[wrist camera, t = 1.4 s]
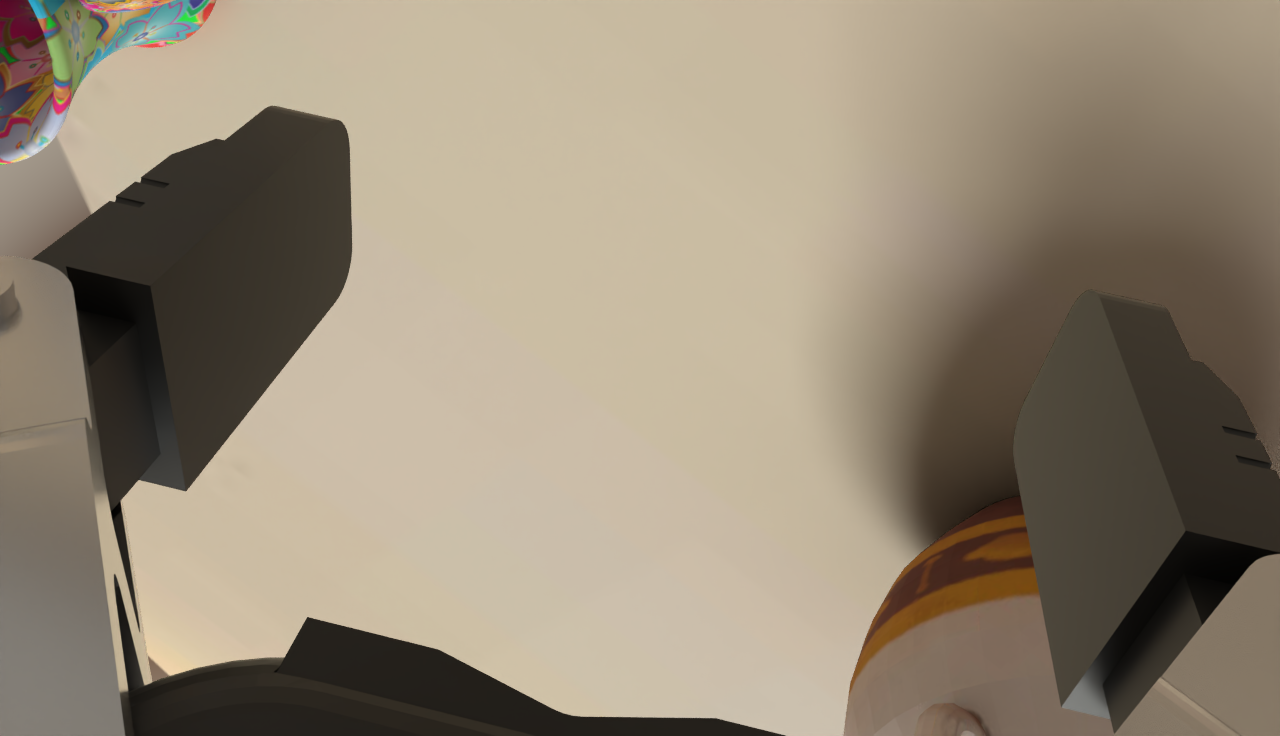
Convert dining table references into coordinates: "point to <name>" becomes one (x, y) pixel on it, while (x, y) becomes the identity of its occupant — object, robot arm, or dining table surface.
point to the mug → (71, 56)
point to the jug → (964, 643)
